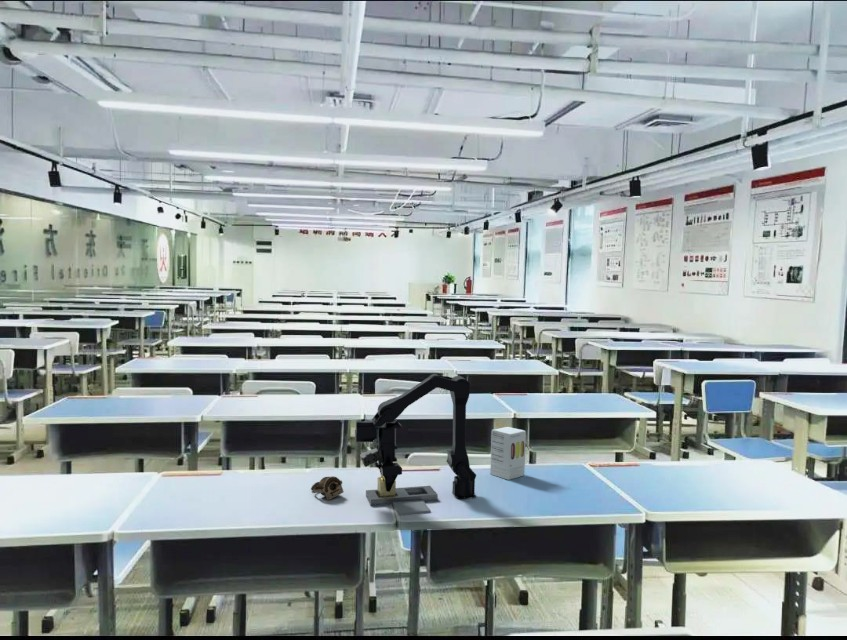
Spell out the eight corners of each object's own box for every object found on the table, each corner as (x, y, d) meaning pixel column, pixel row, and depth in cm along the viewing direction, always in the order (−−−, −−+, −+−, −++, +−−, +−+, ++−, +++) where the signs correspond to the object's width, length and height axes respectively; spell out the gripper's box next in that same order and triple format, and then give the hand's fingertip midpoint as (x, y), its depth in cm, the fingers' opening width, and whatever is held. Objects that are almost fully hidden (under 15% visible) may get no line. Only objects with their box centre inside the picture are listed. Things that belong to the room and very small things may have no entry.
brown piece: (312, 486, 200) (342, 477, 203) (306, 471, 212) (335, 462, 215) (316, 506, 202) (346, 497, 205) (310, 490, 214) (339, 481, 217)
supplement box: (508, 480, 226) (509, 434, 225) (489, 474, 233) (490, 429, 232) (525, 475, 232) (526, 430, 231) (506, 469, 239) (507, 425, 238)
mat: (422, 501, 203) (422, 499, 203) (430, 512, 194) (430, 510, 194) (392, 503, 201) (392, 501, 201) (398, 514, 191) (398, 513, 191)
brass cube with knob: (392, 494, 207) (392, 470, 207) (395, 499, 203) (395, 475, 202) (377, 495, 206) (377, 471, 206) (380, 500, 201) (380, 476, 201)
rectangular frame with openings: (430, 491, 213) (430, 485, 213) (437, 500, 204) (437, 494, 204) (365, 496, 207) (365, 490, 207) (370, 505, 199) (370, 499, 198)
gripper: (357, 435, 210) (357, 481, 211) (367, 450, 192) (366, 500, 193) (390, 434, 213) (389, 479, 214) (402, 448, 195) (402, 497, 196)
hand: (386, 488), depth 204 cm, fingers closed on brass cube with knob, 5 cm apart
